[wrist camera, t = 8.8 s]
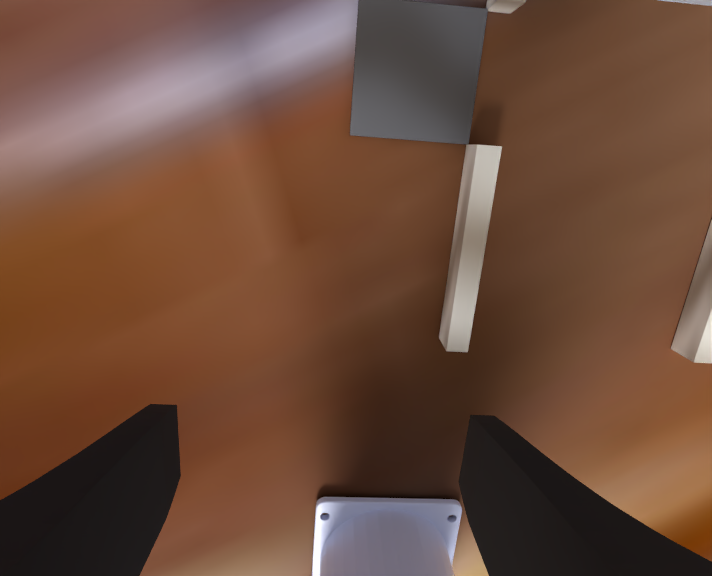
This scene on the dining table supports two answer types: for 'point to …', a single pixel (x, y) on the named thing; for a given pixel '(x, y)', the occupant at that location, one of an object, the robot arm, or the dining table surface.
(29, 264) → the dining table surface
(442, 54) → the trap lane
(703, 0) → the block
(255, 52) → the dining table surface
